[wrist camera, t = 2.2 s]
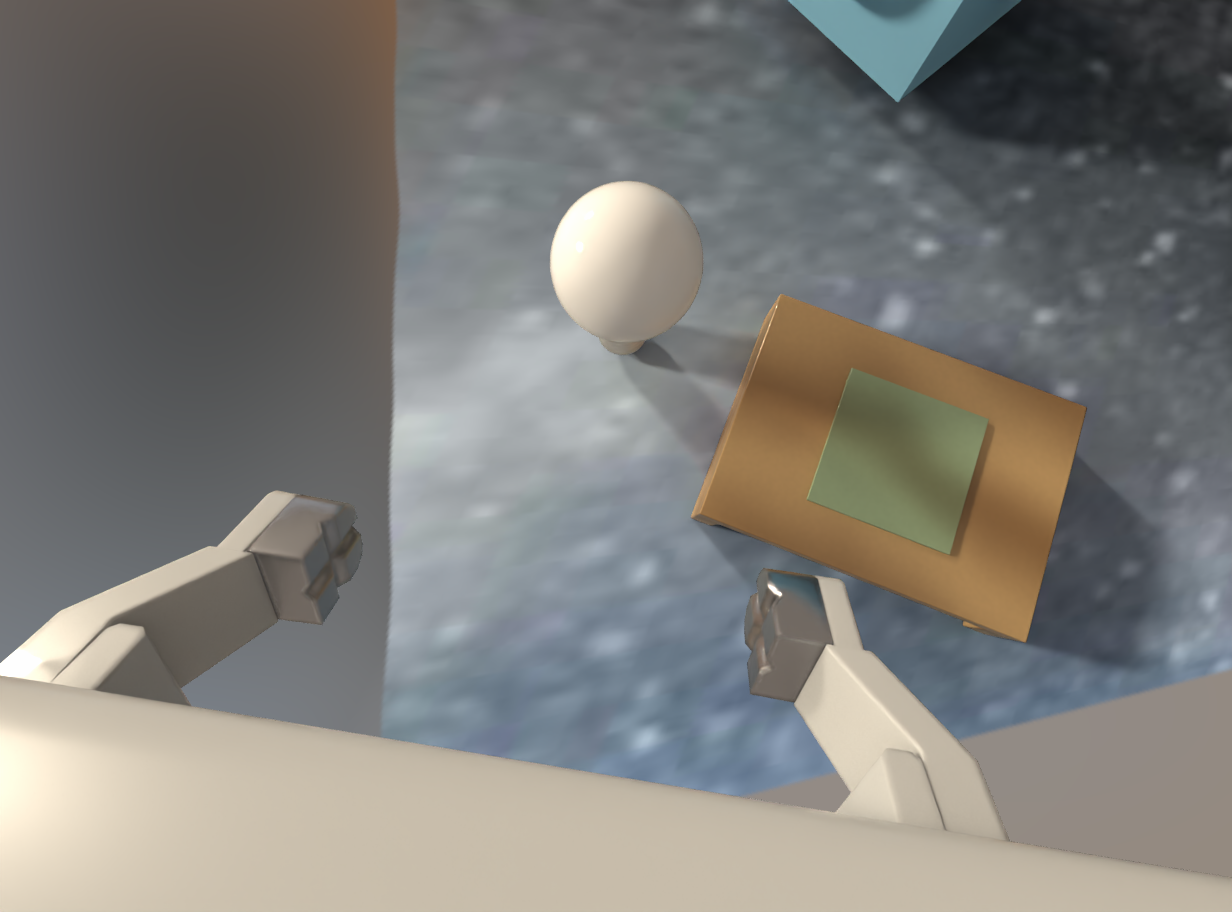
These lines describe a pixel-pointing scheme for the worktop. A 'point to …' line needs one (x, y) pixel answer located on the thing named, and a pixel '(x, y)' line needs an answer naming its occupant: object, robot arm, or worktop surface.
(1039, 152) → the worktop surface
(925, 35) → the teakettle
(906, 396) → the shelf
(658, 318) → the lightbulb
